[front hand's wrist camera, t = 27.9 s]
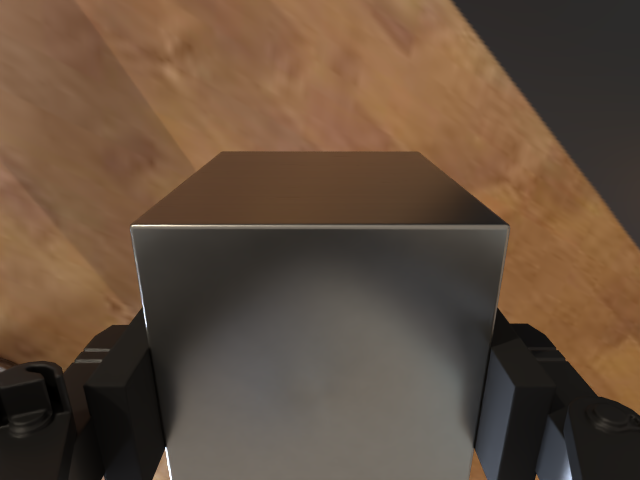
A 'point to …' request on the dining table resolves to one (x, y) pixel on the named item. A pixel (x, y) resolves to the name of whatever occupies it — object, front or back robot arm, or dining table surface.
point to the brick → (319, 317)
